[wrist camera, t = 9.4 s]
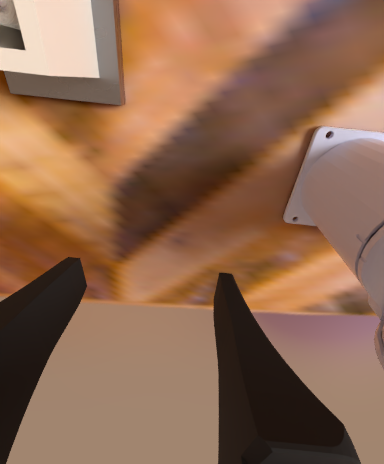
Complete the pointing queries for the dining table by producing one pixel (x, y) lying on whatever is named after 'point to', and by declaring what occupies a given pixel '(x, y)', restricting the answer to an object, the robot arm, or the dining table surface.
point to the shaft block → (78, 88)
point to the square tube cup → (51, 39)
